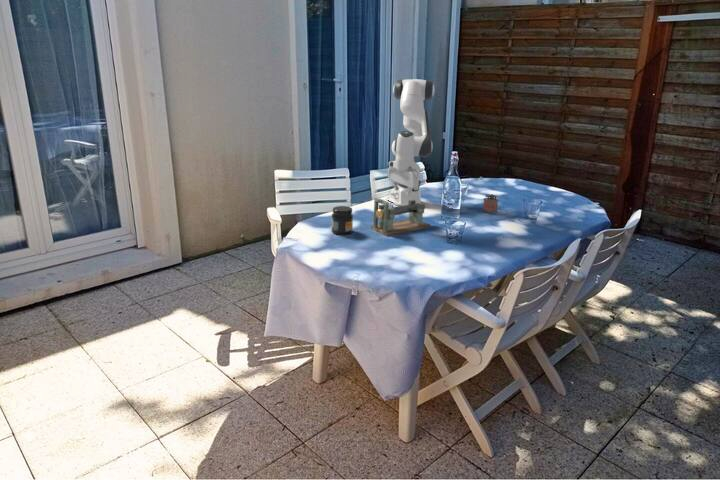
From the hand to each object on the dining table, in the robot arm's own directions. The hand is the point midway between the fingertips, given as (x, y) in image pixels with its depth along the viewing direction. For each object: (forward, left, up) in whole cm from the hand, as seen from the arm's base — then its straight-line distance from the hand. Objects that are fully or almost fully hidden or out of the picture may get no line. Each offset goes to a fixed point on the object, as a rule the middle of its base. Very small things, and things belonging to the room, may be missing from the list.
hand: (402, 192), depth 274 cm
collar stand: (0, 0, -19) cm, 19 cm away
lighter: (+2, +63, -19) cm, 66 cm away
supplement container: (-10, -29, -19) cm, 36 cm away
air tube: (0, 0, -11) cm, 11 cm away
